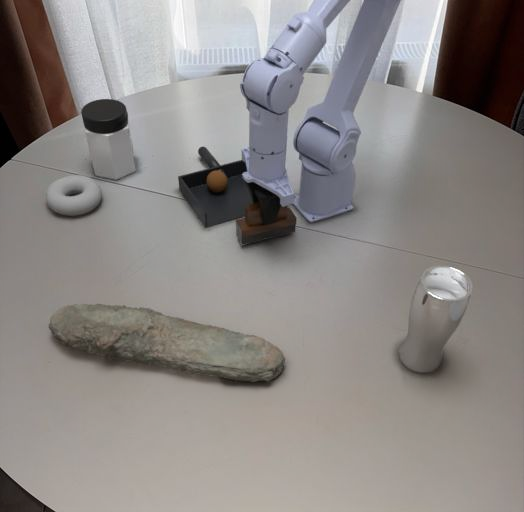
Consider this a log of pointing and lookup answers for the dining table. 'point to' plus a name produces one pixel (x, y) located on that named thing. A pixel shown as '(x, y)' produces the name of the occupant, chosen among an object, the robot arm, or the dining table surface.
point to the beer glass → (434, 316)
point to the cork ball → (217, 181)
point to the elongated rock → (166, 342)
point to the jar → (109, 138)
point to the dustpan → (216, 203)
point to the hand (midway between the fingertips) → (265, 217)
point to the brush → (256, 230)
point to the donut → (73, 204)
